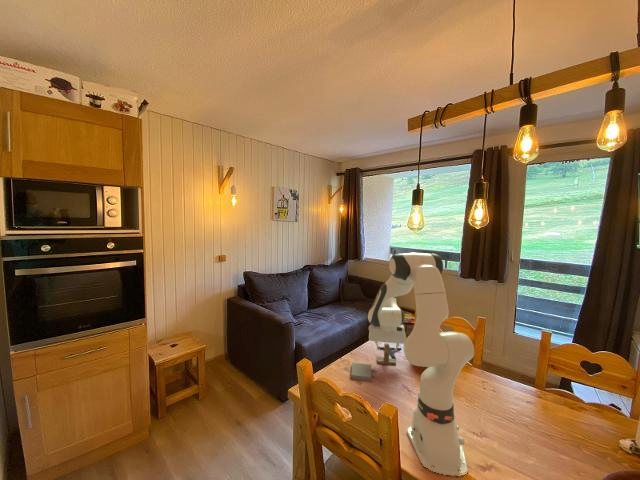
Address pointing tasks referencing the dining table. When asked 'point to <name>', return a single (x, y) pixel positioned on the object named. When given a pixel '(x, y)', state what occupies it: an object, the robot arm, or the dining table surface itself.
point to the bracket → (391, 351)
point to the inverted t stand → (386, 357)
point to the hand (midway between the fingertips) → (386, 349)
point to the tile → (361, 371)
